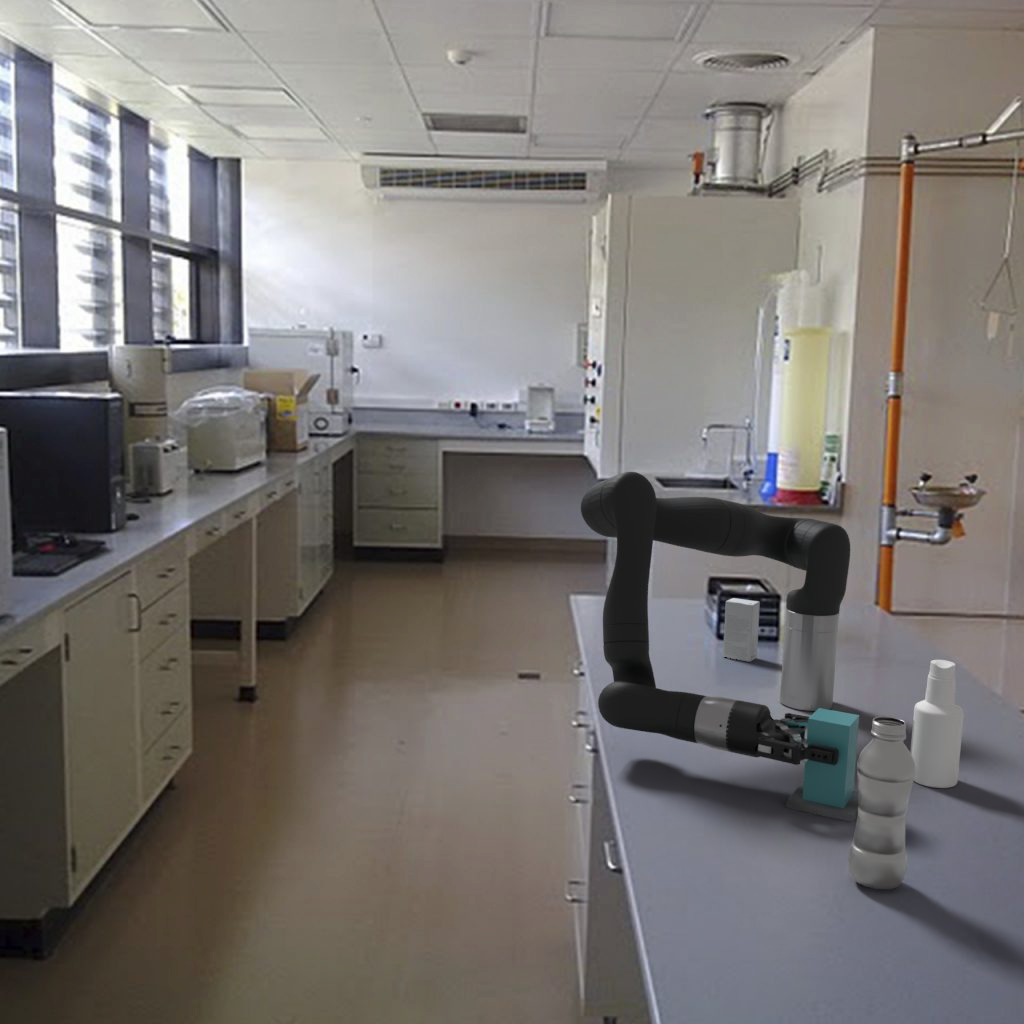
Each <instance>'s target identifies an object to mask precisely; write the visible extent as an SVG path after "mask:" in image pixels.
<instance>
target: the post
mask: <svg viewBox="0 0 1024 1024" xmlns="http://www.w3.org/2000/svg"><path fill="white" fill-rule="evenodd" d="M803 786H804V780H803V781H802V783H801V784H800V785H798V787H797V788H796V789H795V790H794V792H793V793H792V794H791V795H790V797H788V799H786V808H789V809H791V810H795V811H801V812H805V813H810V814H814V815H817V816H824V817H827V818H833V819H836V820H840V821H846V822H847V823H848V822H849V823H854V821H855V820H856V819H857V816H858V806H859V805H858V792H859V791H858V790H855V789H854V790H853V796H852V797H851V799H850V800H849V801H848V803H847V804H846V806H845V807H844V808H840V807H835V806H831V805H826V804H822V803H817V802H813V801H808V800H804V799H803Z"/></svg>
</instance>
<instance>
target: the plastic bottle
mask: <svg viewBox="0 0 1024 1024" xmlns="http://www.w3.org/2000/svg"><path fill="white" fill-rule="evenodd" d="M871 724H872V728H871V730H870V735H871V737H872V739H871V740H870V741H869V742H868V743H867V744H866V745H865V746H864V747H863V749H862V750H861V751H860V754H859V755H858V758H857V759H856V769H857V772H856V775H857V787H858V788H857V789H858V790H857V791H859V792H858V805H859V806H858V815H857V817H856V824H855V829H854V833H853V840H852V842H851V845H850V848H849V851H848V857H847V862H848V863H847V864H848V872H849V874H850V876H851V878H853V880H854V881H855V882H856V883H858V884H859V885H862V886H864V887H866V888H870V889H876V890H891V889H895V888H897V887H899V886H900V884H901V883H903V881H904V880H905V876H906V873H907V871H908V860H907V859H908V858H907V857H908V856H907V851H906V820H907V812H908V806H909V800H910V796H911V792H912V788H913V784H914V781H913V780H914V777H915V771H916V766H915V762H914V759H913V757H912V755H911V753H910V752H911V751H910V750H909V749H908V747H907V746H906V744H905V743H904V741H906V739H907V733H906V730H907V723H906V721H905V720H903V719H901V718H898V717H894V716H893V717H892V716H875V717H873V719H872V723H871Z"/></svg>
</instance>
